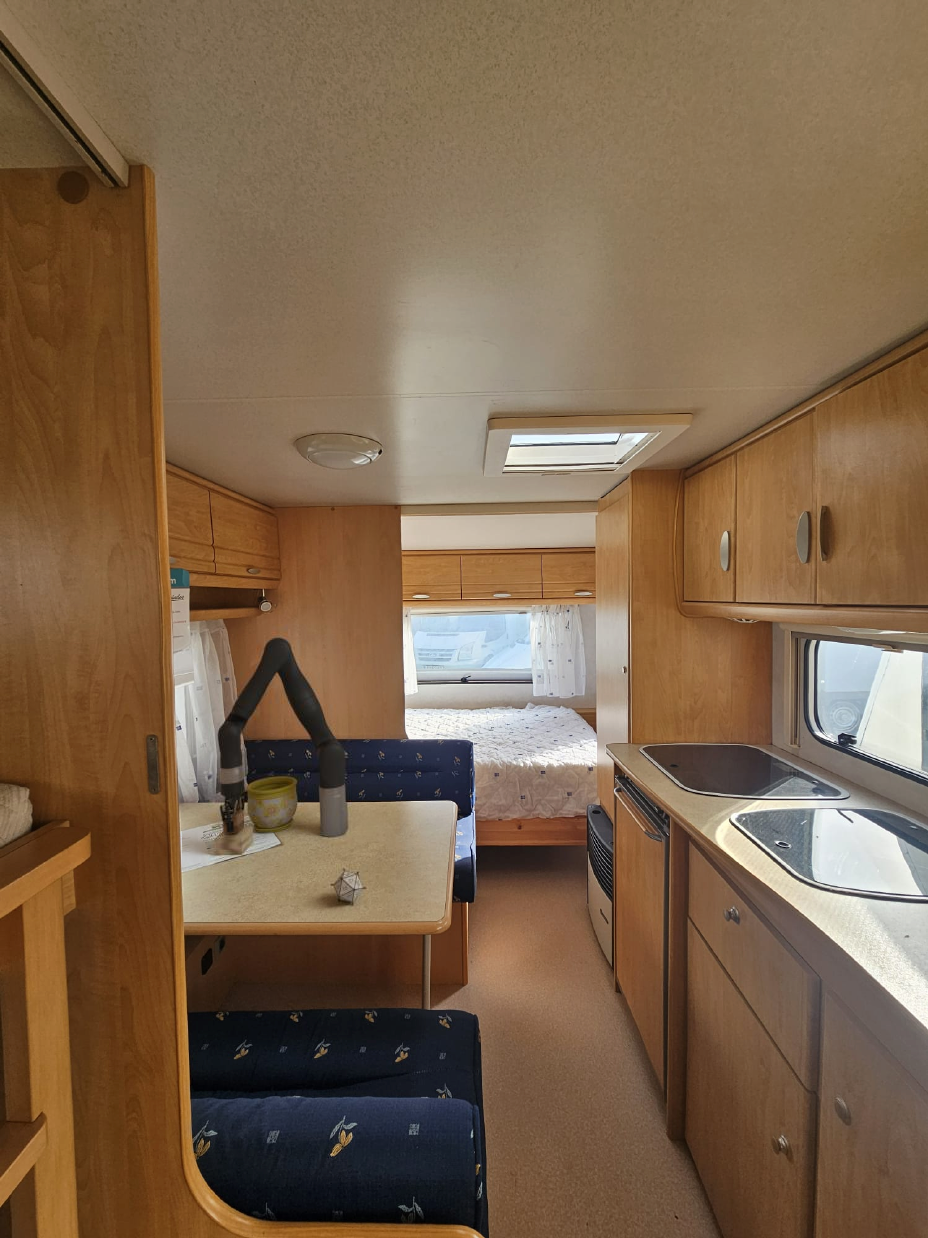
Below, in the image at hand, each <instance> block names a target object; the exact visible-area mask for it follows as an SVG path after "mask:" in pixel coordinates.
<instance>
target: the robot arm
mask: <svg viewBox="0 0 928 1238" xmlns="http://www.w3.org/2000/svg"><path fill="white" fill-rule="evenodd" d="M277 674H278V676H279V678H280V681H281V685H282V687H283V690H284V694H285V695H286V698H287V701H288V703H289V704H290V708H292V710H293V713H294V714H295V716H296V718H297V720H298V721H299V722H300V724H301V726H303V727H302V728H304V730H305V731H306V732H307V734H308V736H309V738H310V739H311V742H312V745H313V747H314V750H315V752H316V757H317V759H318V767H319V769H318V770H319V778H318V792H319V795H318V797H319V816H320V817H319V818H320V819H319V820H320V835H322V836H323V837H325V838H326V837H328V838H332V837H338V836H343V835H345V834H346V833H347V831H348V830H349V818H348V817H349V811H348V802H346V774H347V773H346V770H347V769H346V752H345V749H344V747H343V745H342V744H341V743H340V742H339V741H338V740H337V738H336V737H335V736H334V733H333V732H332V730H331V729H330V727H329V725H328V723H327V721H326V720H327V719H326V717H325V714H324V711H323V708H322V705H321V703H320V701H319V699H318V697H317V694H316V693H315V691H314V689H313V688H312V685H311V684H310V683H309V681H308V679H307V678H306V676H305V675H304V673H303V672H302V671H301V669H300V667H299V665H298V663H297V661H296V658H295V655H294V653H293V650H292V646H291V643H289V641H288V640H286V639H285V638H282V637H273V638H271V639H270V640H268V641H267V642H266V643H265V646H264V648H263V653H262V656H261V659H260V661H259V663H258V665H257V668H256V669H255V671H254V673H253V674H252V676H251V678H250V679H249V681H248V682H247V683H246V684H245V686H244V687H243V688H242V690H241V692H240V694H239V695H238V697H237V699H236V700H235V702H234V703H233V706H232V709H231V711H230V712H229V714H228V715H227V717H226V718H225V720H224V722H223V723H222V725H220V727H219V728H218V730H217V742H218V750H219V756H220V757H219V764H220V766H219V767H220V768H219V770H220V772H219V786H220V790H219V792H220V795H221V796H223V797H224V804H221V805H220V806H219V810H220V816H221V817H220V818H221V822H222V823H223V822H226V831H227V832H233V831H234V822H233V819H234V814H235V813H236V810H239V811H240V810H244V811H245V802H246V793H245V773H244V771H245V770H244V765H243V751H242V749H241V735H242V733H243V731H244V728H245V727H246V725H247V724H248V721H249V719H250V718H251V717H252V716H253V715H254V712H255V711H256V710H257V708H258V706H259V704H260V703H261V700H262V698H263V697H264V695H265V693H266V692H267V689H268V687H269V685H270V684H271V682H272V680H273V679H274V678H275V676H276V675H277ZM232 810H233V811H232ZM230 811H231V812H230ZM230 814H231V816H230Z"/></svg>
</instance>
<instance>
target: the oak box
mask: <svg viewBox="0 0 928 1238" xmlns="http://www.w3.org/2000/svg"><path fill="white" fill-rule="evenodd" d="M253 844H254V827H253V826H244V828H243V829H242V830H241V831H240V832H239V833H231V834H223V831H222V832H220V833H219V834H218V835H217V836H216V837H215V838H214V849H215V851H214V852H215V856H217V857H218V856H220V857H221V856H242V855H243V854H244V853H246V852H247V850H248V849H249V848H251V847H252V845H253Z"/></svg>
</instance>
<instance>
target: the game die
mask: <svg viewBox="0 0 928 1238" xmlns="http://www.w3.org/2000/svg"><path fill="white" fill-rule="evenodd" d="M342 870H343V872H342V873H341V874H340V876H339V877H338V878H337V879H336V880H335V882H334V883H330V884H329V885H330V886H331V887H332V886H333V888H334V890H335V892H336V895H337V897H336V900H337V902H340V901H345V902H350V903H351V905H352V906H354V905H355V904H354V901H355V900H356V899H357V897H358V896H359V895H360V894H361V892H362V891H363V890H366V889H367V887H365V886H363V883H362V881H361V878H360V874H359V873H360V870H358V871H357V872H351V871H347V870H346V868H344V867H343V869H342Z"/></svg>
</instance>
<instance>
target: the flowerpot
mask: <svg viewBox="0 0 928 1238" xmlns="http://www.w3.org/2000/svg"><path fill="white" fill-rule="evenodd" d="M297 783H298V781H297V779H296V778H295V777H293V776H292V777H291V776H283V775H281V776H272V777H265V778H261V779H257V780H254V781H252V782H251V783H249V784H248V785H247V786H246V791H247V815H248V817H249V820H250V821H251V822H252V823H253V826H252V827H253V830H255V831H256V832H258V833H261V834H270V833H276V832H281V831H283V830H286V829H288V828H289V827H290V826H291V825H292V823H293V822H294V818H293V817H294V816H295V814H296V811H297V808H298V795H297V791H296V790H297V786H296V785H297Z"/></svg>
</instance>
